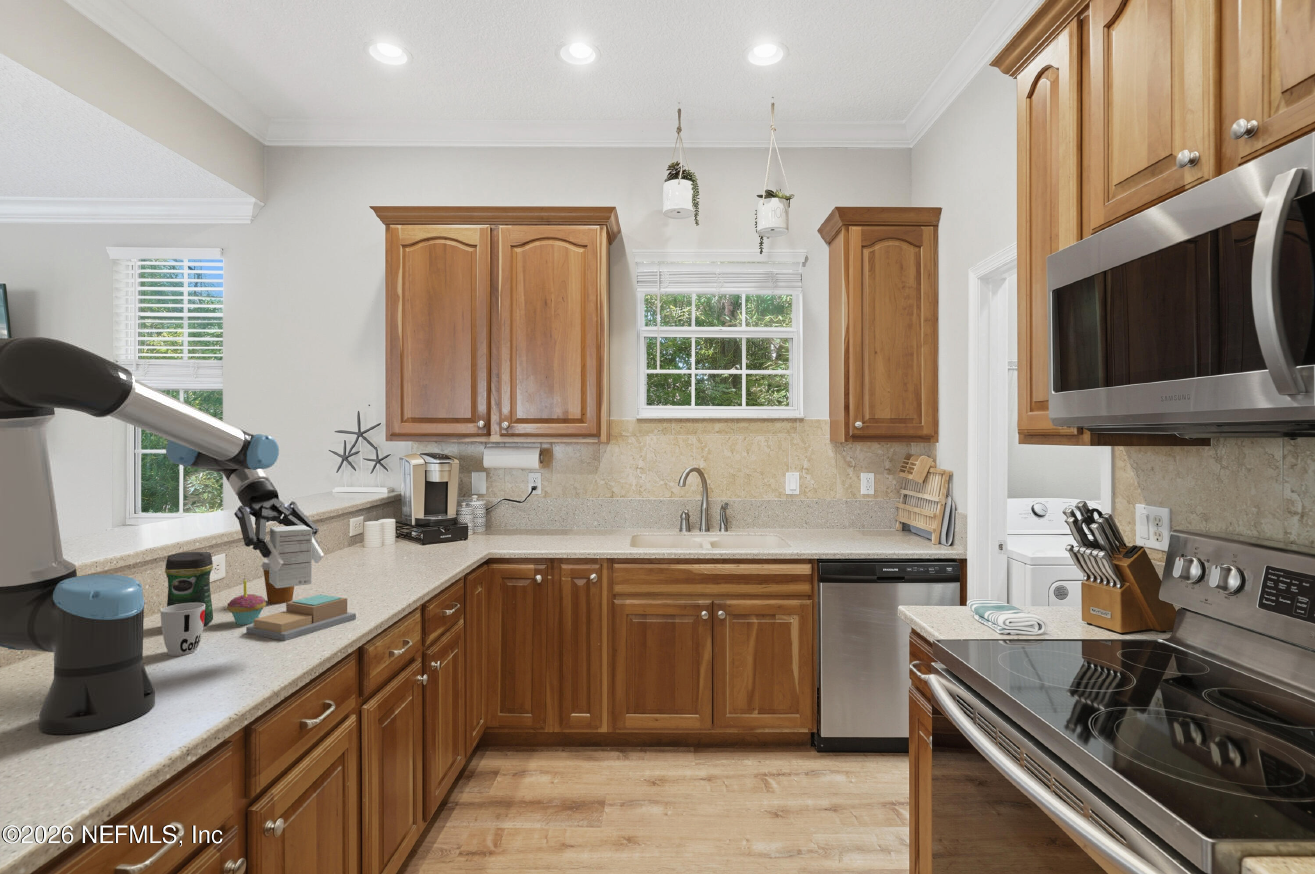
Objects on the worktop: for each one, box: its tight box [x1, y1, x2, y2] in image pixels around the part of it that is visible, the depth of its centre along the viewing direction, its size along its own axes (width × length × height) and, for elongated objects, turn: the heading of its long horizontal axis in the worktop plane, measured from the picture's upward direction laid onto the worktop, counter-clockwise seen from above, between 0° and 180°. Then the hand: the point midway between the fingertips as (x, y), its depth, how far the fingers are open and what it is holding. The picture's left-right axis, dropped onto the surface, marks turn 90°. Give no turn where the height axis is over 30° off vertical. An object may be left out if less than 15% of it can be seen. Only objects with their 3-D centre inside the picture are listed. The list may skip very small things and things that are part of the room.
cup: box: [159, 603, 205, 657], centre depth 145 cm, size 8×8×10 cm
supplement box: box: [269, 525, 313, 588], centre depth 147 cm, size 7×7×13 cm
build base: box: [245, 594, 357, 642], centre depth 165 cm, size 20×14×6 cm
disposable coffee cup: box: [261, 559, 295, 605], centre depth 189 cm, size 10×10×12 cm
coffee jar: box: [164, 551, 214, 626], centre depth 165 cm, size 10×8×19 cm
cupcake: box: [226, 577, 267, 626], centre depth 168 cm, size 9×8×12 cm
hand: (300, 562), depth 145 cm, fingers closed on supplement box, 9 cm apart
